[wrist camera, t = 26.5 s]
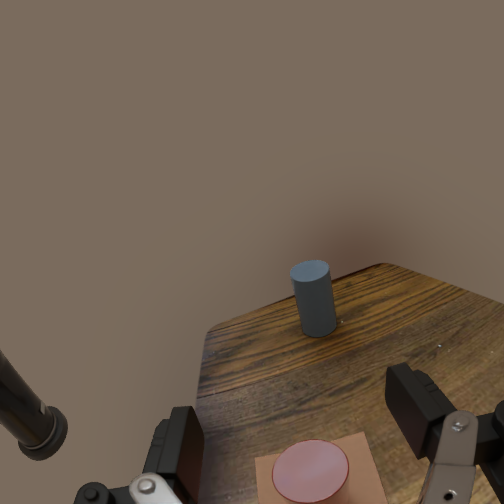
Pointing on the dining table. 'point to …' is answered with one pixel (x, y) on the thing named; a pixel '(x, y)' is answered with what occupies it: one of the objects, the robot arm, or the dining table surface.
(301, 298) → the grey upright cylinder
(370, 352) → the dining table surface
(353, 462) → the terracotta mat
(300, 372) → the dining table surface
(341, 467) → the glossy red cylinder
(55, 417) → the robot arm
